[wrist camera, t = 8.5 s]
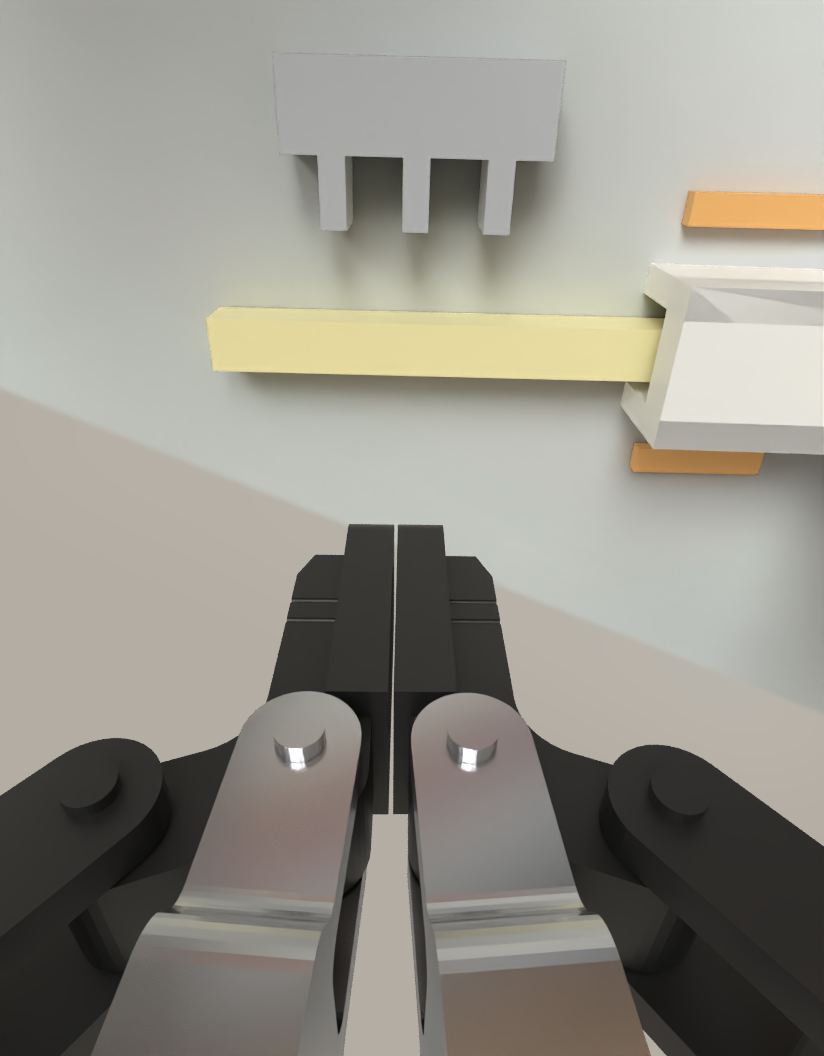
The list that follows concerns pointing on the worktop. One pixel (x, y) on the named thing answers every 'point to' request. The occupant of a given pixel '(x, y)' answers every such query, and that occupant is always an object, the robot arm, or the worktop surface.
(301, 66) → the comb
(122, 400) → the worktop surface
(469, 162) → the worktop surface
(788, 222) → the orange parallel strips
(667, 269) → the sleeve
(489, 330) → the yellow block
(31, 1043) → the robot arm
